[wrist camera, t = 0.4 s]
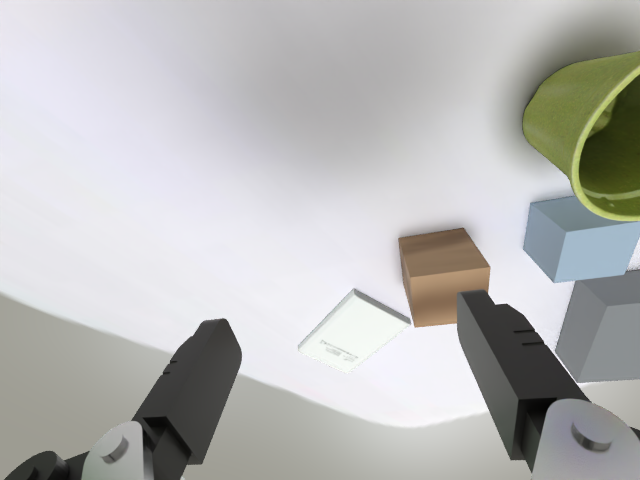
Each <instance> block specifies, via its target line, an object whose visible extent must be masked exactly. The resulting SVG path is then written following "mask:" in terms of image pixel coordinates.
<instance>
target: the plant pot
mask: <svg viewBox="0 0 640 480" xmlns="http://www.w3.org/2000/svg"><path fill="white" fill-rule="evenodd" d="M523 132H524V135H525V138H526V139H527V141H528V142H529V143H530V144H531V145H532V146H533V147H534V148H535V149H536V150H538V151H539V152H540V153H541V154H542V155H543V156H545V157H546V158H547V159H548V160H549V161H551V162H552V163H553V164H554V165H555V166H556V167H558V168H559V169H560V170H561V171H562V172H563V173H564V174H566V175H567V177H568V179H569V180H570V184H571V187H572V190H573V192H574V194H575V196H576V197H577V198H578V200H579V201H580V202H581V203H582V204H583V205H584V206H585V207H586V208H587V209H589V210H590V211H591V212H593V213H595V214H596V215H599V216H601V217H604V218H607V219H611V220H617V221H640V51H637V52H632V53H627V54H621V55H616V56H610V57H603V58H598V59H592V60H587V61H581V62H577V63H573V64H570V65H568V66H566V67H564V68H562V69H560V70H558V71H557V72H555V73H554V74H552V75H551V76H550V77H548V78H547V79H546V80H545V81H544V82H543V83H542V84H541V85H540V86H539V88H538V90H537V92H536V93H535V95H534V97H533V98H532V100H531V101H530V103H529V104H528V106H527V107H526V109H525V112H524V116H523Z"/></svg>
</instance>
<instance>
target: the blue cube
mask: <svg viewBox="0 0 640 480" xmlns="http://www.w3.org/2000/svg"><path fill="white" fill-rule="evenodd" d="M639 237H640V221H617V220H611V219H607V218H604V217H601V216H599V215H596V214H595V213H593V212H591V211H590V210H589V209H587V208H586V207H585V206H584V205H583V204H582V203H581V202H580V201H579V200H578V198H577V197H576V196H571V197H565V198H559V199H552V200H546V201H540V202H534V203H530V209H529V215H528V222H527V228H526V234H525V240H524V246H523V250H524V251H525V252H526V253H527V254H528V255H529V256H530V257H531V258H532V260H533V261H534V262H535V263H536V264H537V265H538V266H539V267H540V268H541V269H542V271H543V272H544V273H545V274H546V275H547V276H548V277H549V278H550V279H551V280H552V282H553V283H559V282H567V281H576V280H584V279H593V278H601V277H610V276H618V275H624V274H625V272H626V269H627V267H628V264H629V262H630V259H631V257H632V254H633V252H634V249H635V247H636V244H637V242H638V239H639Z"/></svg>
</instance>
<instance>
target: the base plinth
mask: <svg viewBox="0 0 640 480" xmlns="http://www.w3.org/2000/svg"><path fill="white" fill-rule="evenodd" d="M555 352H556V354H557V355H558V357H559V358H560V360H561V361H562V362H563V364H564V365H565V367H566V368H567V369H568V371H569V372H570V374H571V375H572V377H573V378H574V379H575V381H576V382H577V383H585V382H601V381H618V380H634V379H640V270H634V271H626V272H625V274H624V275H618V276H610V277H601V278H593V279H584V280H576V283H575V286H574V290H573V293H572V296H571V300H570V303H569V307H568V310H567V313H566V317H565V320H564V323H563V327H562V330H561V333H560V337H559V340H558V344H557V347H556V350H555Z"/></svg>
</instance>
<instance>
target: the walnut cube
mask: <svg viewBox="0 0 640 480" xmlns="http://www.w3.org/2000/svg"><path fill="white" fill-rule="evenodd" d="M399 248H400V257H401V266H402V275H403V284H404V288H405V292H406V296H407V299H408V303H409V307H410V311H411V315H412V319H413V322H414V326H415V327H425V326H435V325H444V324H454V323H457V293H458V292H461V291H470V290H479V289H484V290H485V291H486V292H487V293H488V288H489V277H490V266H489V264H488V263H487V261H486V260H485V258H484V257H483V255H482V254H481V252H480V251H479V250H478V248H477V247H476V245H475V244H474V242H473V241H472V239H471V238H470V236H469V235H468V234H467V232H466V231H465V229H464V228H460V229H453V230H447V231H441V232H434V233H428V234H421V235H415V236H408V237H402V238H399Z"/></svg>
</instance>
